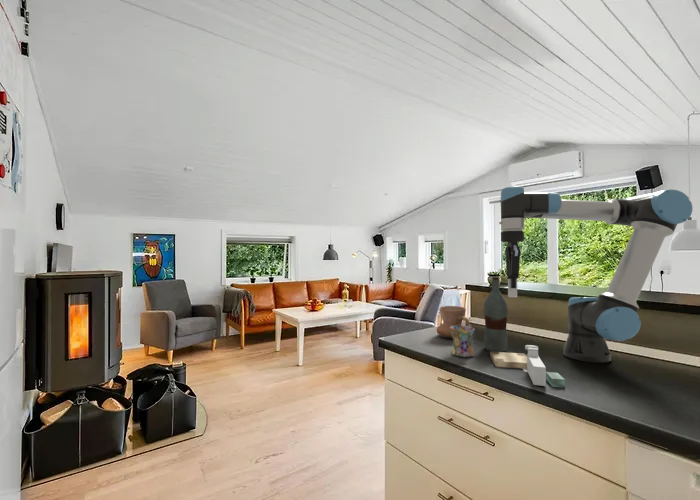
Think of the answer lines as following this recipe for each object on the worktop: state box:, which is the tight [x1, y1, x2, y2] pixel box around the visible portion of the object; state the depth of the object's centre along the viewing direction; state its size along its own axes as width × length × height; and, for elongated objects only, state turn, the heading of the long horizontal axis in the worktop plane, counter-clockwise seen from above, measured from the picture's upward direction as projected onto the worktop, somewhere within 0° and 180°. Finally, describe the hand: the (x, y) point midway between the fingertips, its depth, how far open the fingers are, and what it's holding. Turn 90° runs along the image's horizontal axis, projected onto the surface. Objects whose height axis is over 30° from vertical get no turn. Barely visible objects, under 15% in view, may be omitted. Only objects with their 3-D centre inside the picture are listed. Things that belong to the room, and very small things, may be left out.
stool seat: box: [489, 351, 566, 388], centre depth 119 cm, size 16×28×7 cm, turn 167°
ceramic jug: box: [436, 305, 470, 340], centre depth 166 cm, size 18×14×14 cm
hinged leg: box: [524, 344, 547, 387], centre depth 112 cm, size 17×4×8 cm, turn 160°
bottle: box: [483, 276, 509, 352], centre depth 146 cm, size 9×9×30 cm
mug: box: [450, 325, 476, 358], centre depth 138 cm, size 12×9×11 cm
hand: (512, 297), depth 124 cm, fingers closed
